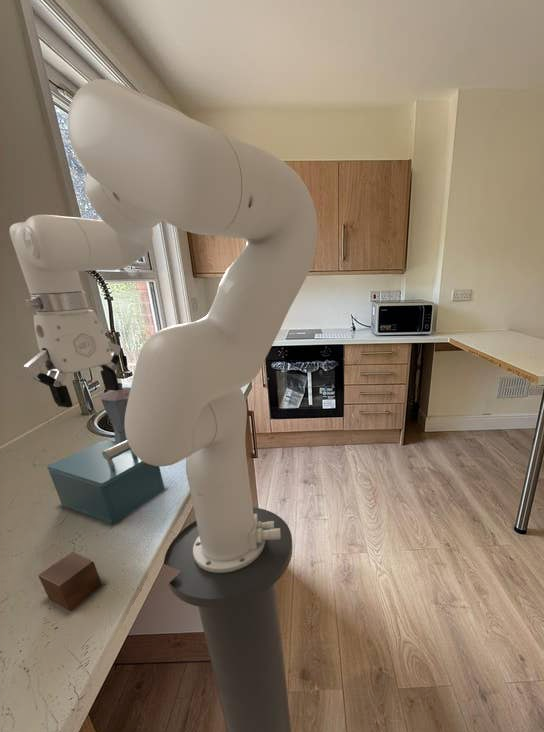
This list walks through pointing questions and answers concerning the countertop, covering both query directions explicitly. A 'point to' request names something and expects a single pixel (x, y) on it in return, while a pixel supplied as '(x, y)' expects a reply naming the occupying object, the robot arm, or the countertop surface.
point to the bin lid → (99, 463)
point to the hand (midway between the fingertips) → (90, 397)
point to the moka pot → (117, 410)
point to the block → (70, 580)
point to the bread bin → (109, 493)
